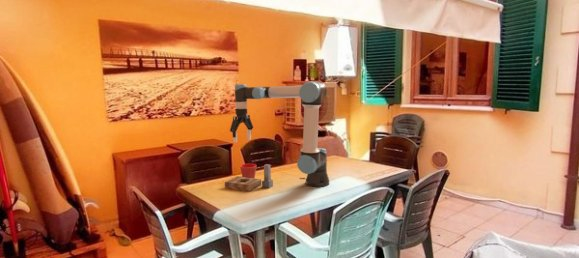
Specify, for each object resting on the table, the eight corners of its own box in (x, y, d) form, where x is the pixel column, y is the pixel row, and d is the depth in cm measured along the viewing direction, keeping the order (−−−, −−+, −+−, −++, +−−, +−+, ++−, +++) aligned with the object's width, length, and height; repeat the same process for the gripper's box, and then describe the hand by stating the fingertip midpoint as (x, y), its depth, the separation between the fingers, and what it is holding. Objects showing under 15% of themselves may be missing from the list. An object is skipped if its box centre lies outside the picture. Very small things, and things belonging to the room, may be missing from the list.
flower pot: (254, 181, 226) (253, 167, 225) (238, 181, 229) (237, 166, 227) (258, 177, 237) (258, 163, 235) (243, 176, 239) (243, 163, 238)
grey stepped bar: (273, 186, 216) (272, 164, 215) (269, 188, 212) (268, 166, 210) (266, 185, 218) (265, 163, 217) (262, 187, 214) (261, 165, 212)
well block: (261, 185, 218) (261, 179, 218) (249, 191, 206) (249, 185, 205) (237, 182, 226) (237, 176, 225) (224, 188, 213) (224, 181, 213)
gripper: (249, 107, 235) (250, 137, 238) (223, 109, 214) (224, 143, 217) (257, 107, 231) (258, 138, 234) (232, 109, 210) (233, 144, 213)
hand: (242, 140), depth 225 cm, fingers open, 13 cm apart
